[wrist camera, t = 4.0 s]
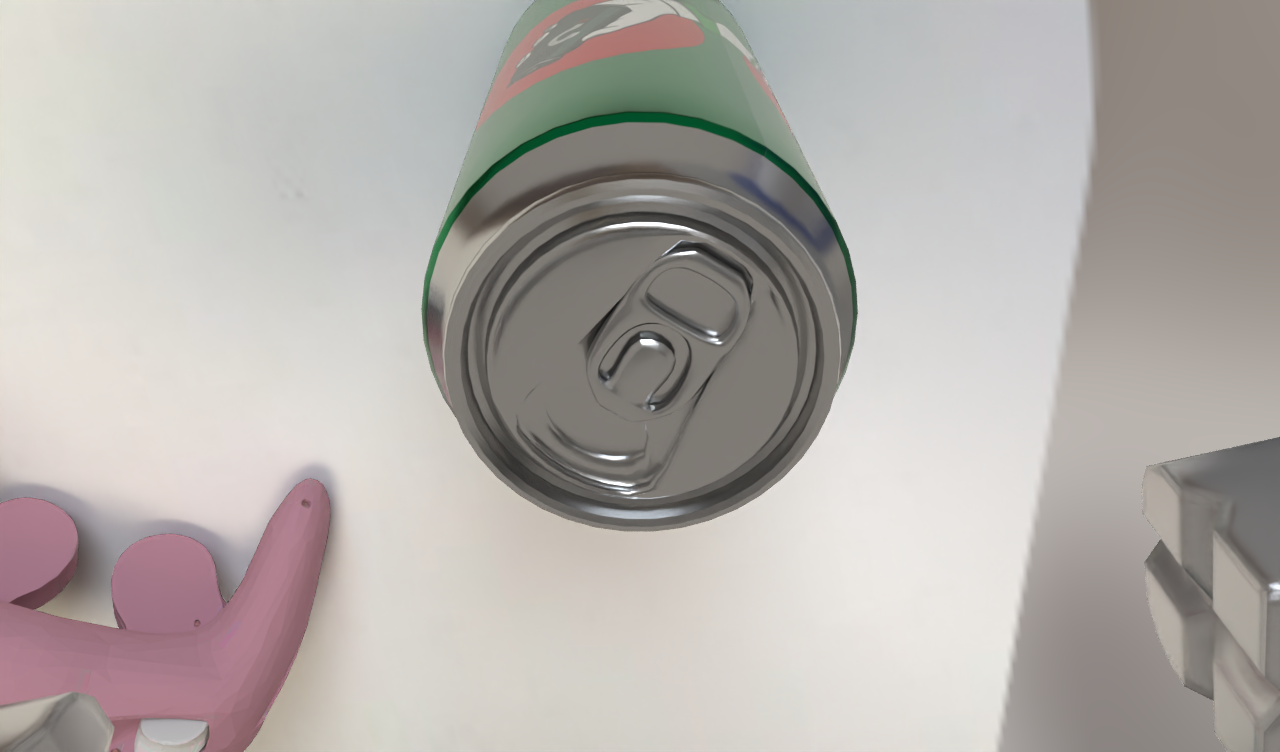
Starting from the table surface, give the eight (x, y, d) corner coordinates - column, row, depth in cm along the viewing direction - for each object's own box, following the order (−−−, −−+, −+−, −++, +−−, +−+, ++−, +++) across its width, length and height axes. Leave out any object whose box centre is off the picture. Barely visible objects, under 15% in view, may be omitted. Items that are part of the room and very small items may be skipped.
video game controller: (-69, 452, 28) (-233, 732, 24) (-105, 347, 25) (-306, 656, 21) (333, 556, 30) (243, 834, 26) (353, 472, 27) (253, 779, 22)
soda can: (453, 130, 24) (326, 435, 13) (585, -98, 22) (562, 41, 11) (663, 255, 25) (705, 624, 14) (805, 51, 23) (974, 302, 12)
